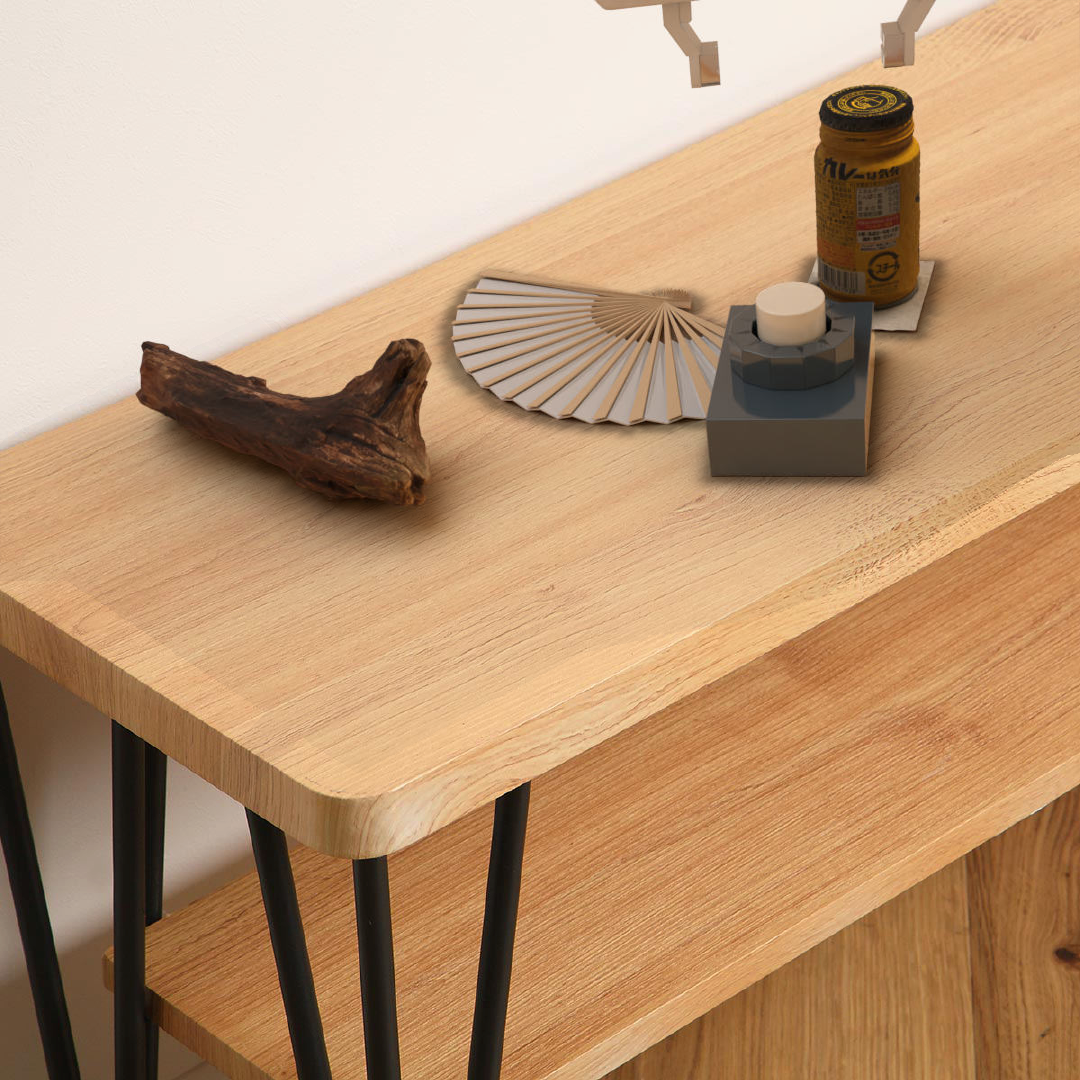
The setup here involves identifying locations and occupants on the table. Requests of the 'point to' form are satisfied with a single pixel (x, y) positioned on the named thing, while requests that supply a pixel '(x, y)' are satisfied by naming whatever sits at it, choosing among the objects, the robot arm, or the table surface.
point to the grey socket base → (793, 398)
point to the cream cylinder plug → (791, 314)
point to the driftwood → (307, 421)
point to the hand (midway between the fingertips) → (800, 73)
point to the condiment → (870, 205)
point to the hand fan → (586, 350)
